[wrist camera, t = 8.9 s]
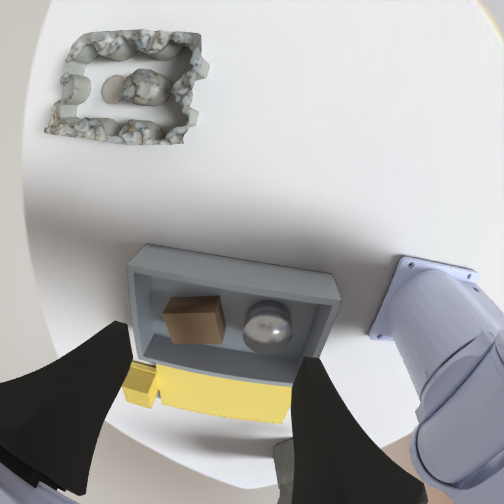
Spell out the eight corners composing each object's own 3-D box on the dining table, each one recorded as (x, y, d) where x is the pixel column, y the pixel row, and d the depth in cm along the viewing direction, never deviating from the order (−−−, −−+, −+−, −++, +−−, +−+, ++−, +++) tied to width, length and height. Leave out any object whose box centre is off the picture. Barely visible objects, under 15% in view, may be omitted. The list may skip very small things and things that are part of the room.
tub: (332, 273, 20) (341, 300, 17) (302, 359, 24) (305, 388, 21) (146, 243, 20) (126, 264, 17) (151, 333, 24) (138, 358, 21)
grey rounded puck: (296, 303, 21) (297, 321, 19) (285, 338, 22) (286, 356, 20) (248, 296, 21) (246, 313, 19) (242, 332, 22) (239, 350, 20)
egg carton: (72, 131, 17) (37, 136, 13) (93, 42, 14) (61, 32, 10) (192, 152, 18) (171, 158, 14) (222, 48, 14) (208, 28, 11)
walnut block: (219, 295, 21) (214, 312, 19) (226, 326, 22) (222, 344, 20) (171, 297, 21) (162, 313, 19) (180, 326, 23) (173, 343, 21)
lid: (301, 369, 25) (303, 401, 21) (281, 416, 29) (281, 443, 25) (130, 339, 25) (114, 366, 21) (141, 390, 29) (131, 415, 25)
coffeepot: (308, 466, 35) (309, 557, 19) (255, 459, 34) (247, 557, 18) (367, 424, 29) (386, 542, 13) (306, 416, 28) (311, 556, 12)
